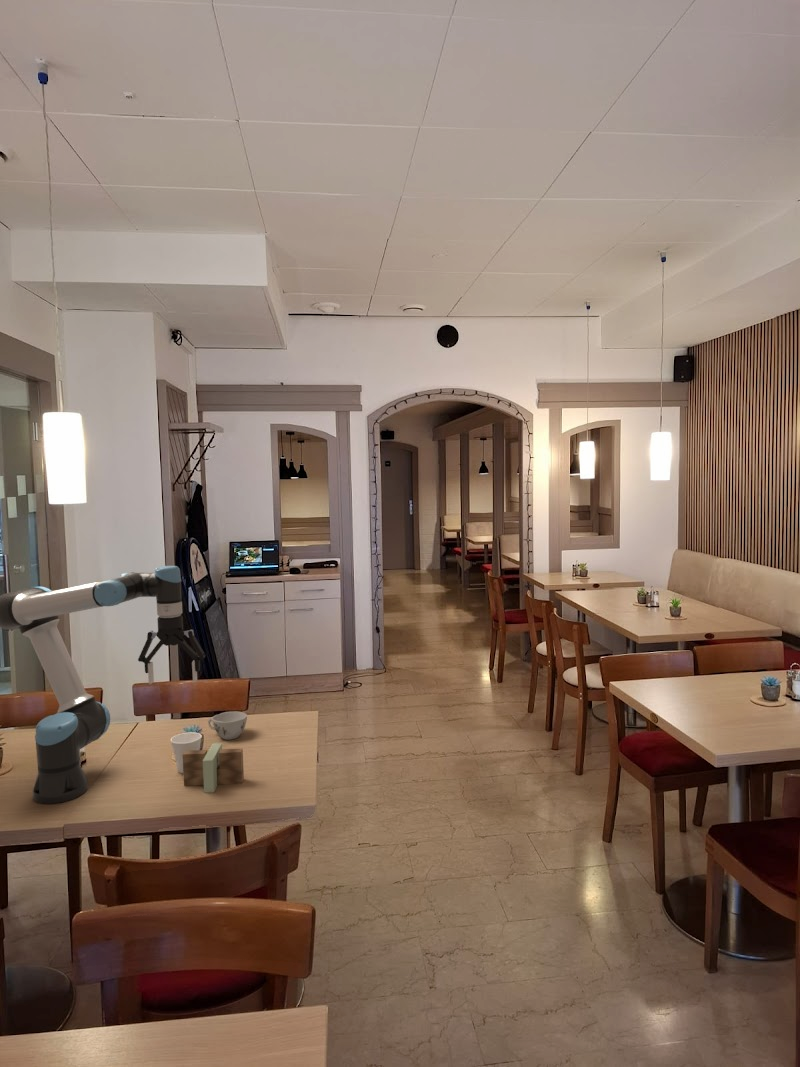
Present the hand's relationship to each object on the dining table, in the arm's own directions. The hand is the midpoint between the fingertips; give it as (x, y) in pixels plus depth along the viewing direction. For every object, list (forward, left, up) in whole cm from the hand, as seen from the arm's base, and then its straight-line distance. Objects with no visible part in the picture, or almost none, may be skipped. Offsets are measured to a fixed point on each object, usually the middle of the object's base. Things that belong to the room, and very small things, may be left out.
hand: (173, 682), depth 222 cm
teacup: (+9, +37, -32) cm, 49 cm away
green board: (+12, -3, -32) cm, 34 cm away
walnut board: (+12, -3, -32) cm, 34 cm away
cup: (+1, +7, -32) cm, 33 cm away
